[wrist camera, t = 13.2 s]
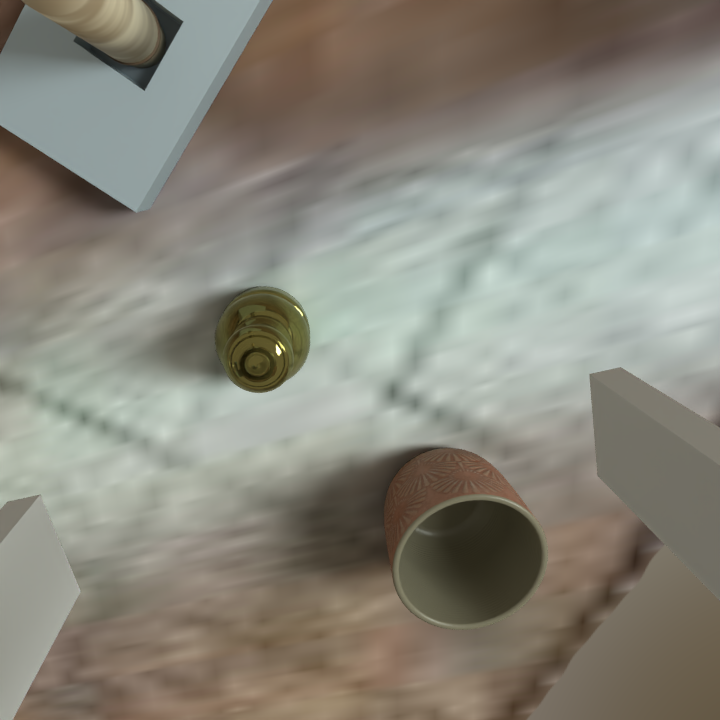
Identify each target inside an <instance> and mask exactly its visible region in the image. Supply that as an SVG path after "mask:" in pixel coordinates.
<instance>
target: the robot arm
mask: <svg viewBox="0 0 720 720" xmlns="http://www.w3.org/2000/svg"><path fill="white" fill-rule="evenodd" d="M589 375H590V387H591V400H592V412H593V425H594V438H595V450H596V463H597V475H598V477H599V478H600V479H601V480H602V481H603V482H604V483H605V484H606V485H607V486H608V487H609V488H610V489H611V490H612V491H613V492H614V493H615V494H616V495H617V496H618V497H619V498H620V499H621V500H622V501H623V502H624V503H625V504H626V505H627V506H628V507H629V508H630V509H631V510H632V511H633V512H634V513H635V514H636V515H637V516H638V518H639V519H640V520H641V521H642V522H643V523H644V524H645V525H646V526H647V527H648V528H649V529H650V530H651V531H652V532H653V533H654V534H655V535H656V536H657V537H658V538H659V539H660V540H661V541H662V542H663V543H664V544H665V545H666V546H667V547H668V548H669V549H670V550H671V551H672V552H673V553H674V554H675V555H676V556H677V557H678V558H679V559H680V561H681V562H682V563H683V564H684V565H685V566H686V567H687V568H688V569H689V570H690V571H691V572H692V573H693V574H694V575H695V576H696V577H697V578H698V579H699V580H700V581H701V582H702V583H703V584H704V585H705V586H706V587H707V588H708V589H709V590H710V591H711V592H712V593H713V594H714V595H715V596H716V597H717V598H718V599H719V601H720V428H719V427H718V426H716V425H714V424H713V423H711V422H709V421H708V420H706V419H704V418H703V417H701V416H700V415H698V414H696V413H695V412H693V411H691V410H690V409H688V408H686V407H685V406H683V405H682V404H680V403H678V402H677V401H675V400H673V399H672V398H670V397H668V396H667V395H665V394H663V393H662V392H660V391H659V390H657V389H655V388H654V387H652V386H650V385H649V384H647V383H645V382H644V381H642V380H641V379H639V378H637V377H636V376H634V375H632V374H631V373H629V372H627V371H626V370H624V369H623V368H621V367H620V368H615V369H611V370H606V371H602V372H597V373H593V374H589ZM80 592H81V591H80V589H79V586H78V584H77V581H76V579H75V577H74V574H73V572H72V569H71V567H70V565H69V562H68V560H67V557H66V555H65V553H64V550H63V548H62V545H61V543H60V541H59V538H58V536H57V533H56V531H55V529H54V526H53V524H52V521H51V519H50V517H49V514H48V512H47V509H46V507H45V505H44V502H43V500H42V497H41V495H36V496H32V497H27V498H23V499H18V500H14V501H9V502H7V503H6V504H5V505H4V506H3V507H2V508H1V510H0V720H13V718H14V716H15V714H16V712H17V710H18V708H19V707H20V705H21V703H22V701H23V699H24V697H25V695H26V693H27V691H28V690H29V688H30V686H31V684H32V682H33V680H34V678H35V676H36V675H37V673H38V671H39V669H40V667H41V665H42V663H43V661H44V659H45V658H46V656H47V654H48V652H49V650H50V648H51V646H52V644H53V643H54V641H55V639H56V637H57V635H58V633H59V631H60V629H61V628H62V626H63V624H64V622H65V620H66V618H67V616H68V614H69V612H70V611H71V609H72V607H73V605H74V603H75V601H76V599H77V597H78V596H79V594H80Z"/></svg>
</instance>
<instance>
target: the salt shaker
mask: <svg viewBox="0 0 720 720" xmlns="http://www.w3.org/2000/svg"><path fill="white" fill-rule="evenodd" d="M215 348H216V352H217V355H218V358H219V360H220V362H221V363H222V365H223V366H224V368H225V371H226V373H227V375H228V377H229V378H230V380H231V381H232V382H233V383H234V384H235V385H237V386H238V387H240V388H242V389H244V390H246V391H249V392H254V393H264V392H268V391H272V390H274V389H276V388H278V387H279V386H281V385H282V384H283V383H284V382H285V381H287V380H288V379H290V378H291V377H293V376H294V375H295V374H296V373H297V372H298V371H299V370H300V369H301V368H302V366H303V365H304V363H305V361H306V359H307V356H308V353H309V349H310V328H309V324H308V319H307V316H306V313H305V311H304V309H303V308H302V306H301V305H300V303H299V302H298V301H297V300H296V299H295V298H294V297H293V296H291V295H290V294H289V293H287V292H285V291H283V290H281V289H278V288H274V287H266V286H264V287H255V288H251V289H248V290H246V291H244V292H242V293H241V294H239V295H238V296H236V297H235V298H234V299H233V300H232V301H231V303H230V304H229V305H228V306H227V307H226V309H225V310H224V312H223V314H222V316H221V317H220V319H219V321H218V324H217V327H216V330H215Z"/></svg>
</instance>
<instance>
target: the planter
mask: <svg viewBox="0 0 720 720" xmlns="http://www.w3.org/2000/svg"><path fill="white" fill-rule="evenodd" d="M384 526H385V535H386V542H387V548H388V554H389V560H390V565H391V571H392V577H393V583H394V586H395V589H396V592H397V594H398V596H399V598H400V599H401V601H402V603H403V604H404V605H405V606H406V608H407V609H408V610H409V611H410V612H411V613H413V614H414V615H415V616H417V617H418V618H420V619H421V620H423V621H425V622H427V623H429V624H431V625H434V626H437V627H441V628H445V629H452V630H470V629H477V628H482V627H485V626H489V625H492V624H494V623H497V622H499V621H501V620H503V619H505V618H507V617H509V616H510V615H512V614H513V613H515V612H516V611H518V610H519V609H520V608H521V607H522V606H524V605H525V604H526V603H527V602H528V601H529V599H530V598H531V597H532V596H533V595H534V593H535V592H536V590H537V589H538V587H539V585H540V583H541V581H542V579H543V577H544V574H545V571H546V567H547V561H548V546H547V541H546V537H545V534H544V531H543V529H542V527H541V525H540V524H539V522H538V521H537V519H536V518H535V517H534V515H533V514H532V513H531V511H530V510H529V509H528V507H527V506H526V505H525V503H524V502H523V501H522V499H521V498H520V497H519V495H518V494H517V493H516V491H515V490H514V489H513V487H512V486H511V485H510V484H509V483H508V481H507V480H506V479H505V478H504V477H503V476H502V474H501V473H500V472H499V471H498V470H497V469H496V468H495V467H493V466H492V465H491V464H490V463H489V462H488V461H486V460H485V459H483V458H482V457H480V456H478V455H476V454H474V453H472V452H469V451H466V450H462V449H455V448H442V449H435V450H431V451H428V452H425V453H422V454H420V455H418V456H416V457H415V458H413V459H412V460H410V461H409V462H408V463H406V464H405V465H404V466H403V467H402V468H401V469H400V470H399V471H398V473H397V474H396V475H395V477H394V478H393V480H392V482H391V484H390V486H389V488H388V491H387V494H386V499H385V504H384Z"/></svg>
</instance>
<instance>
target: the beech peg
mask: <svg viewBox="0 0 720 720" xmlns="http://www.w3.org/2000/svg"><path fill="white" fill-rule="evenodd" d="M21 1H23V2H24V3H25V4H26V5H28V6H29V7H30V8H32V9H34V10H35V11H37V12H39V13H40V14H42V15H44V16H45V17H47V18H48V19H50V20H52V21H53V22H55V23H57V24H58V25H60V26H62V27H63V28H65V29H67V30H68V31H70V32H71V33H73V34H75V35H76V36H78V37H80V38H81V39H83V40H85V41H86V42H88V43H89V44H91V45H93V46H94V47H96V48H98V49H99V50H101V51H103V52H104V53H105V54H106V55H107V56H108V57H110V58H111V59H113V60H114V61H116V62H118V63H120V64H123V65H128V66H134V67H137V68H149V67H152V66H154V65H156V64H157V63H158V62H159V61H160V60H161V59H162V57H163V55H164V53H165V49H166V38H165V34H164V31H163V29H162V27H161V26H160V24H159V22H158V19H157V17H156V15H155V13H154V12H153V10H152V9H151V8H150V7H149V5H148V4H147V3H145V2H144V1H143V0H21Z"/></svg>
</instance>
